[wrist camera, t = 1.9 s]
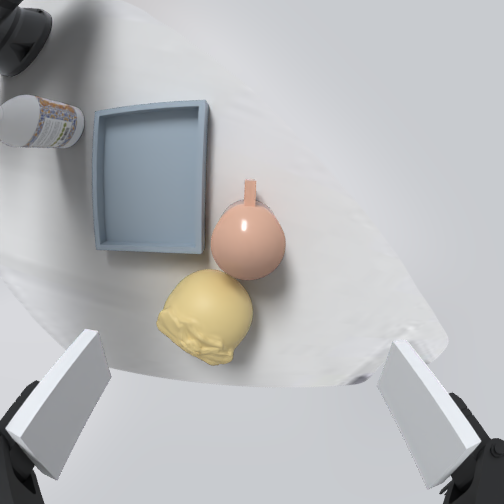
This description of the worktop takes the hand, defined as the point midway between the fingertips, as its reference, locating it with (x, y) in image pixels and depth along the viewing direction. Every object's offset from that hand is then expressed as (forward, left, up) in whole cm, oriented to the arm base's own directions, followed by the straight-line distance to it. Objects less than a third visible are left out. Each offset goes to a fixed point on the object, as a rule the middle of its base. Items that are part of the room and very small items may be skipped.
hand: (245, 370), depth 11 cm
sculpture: (+11, -5, -29) cm, 31 cm away
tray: (-7, -14, -29) cm, 33 cm away
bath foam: (-16, -29, -29) cm, 44 cm away
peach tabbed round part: (-2, 0, -29) cm, 29 cm away
